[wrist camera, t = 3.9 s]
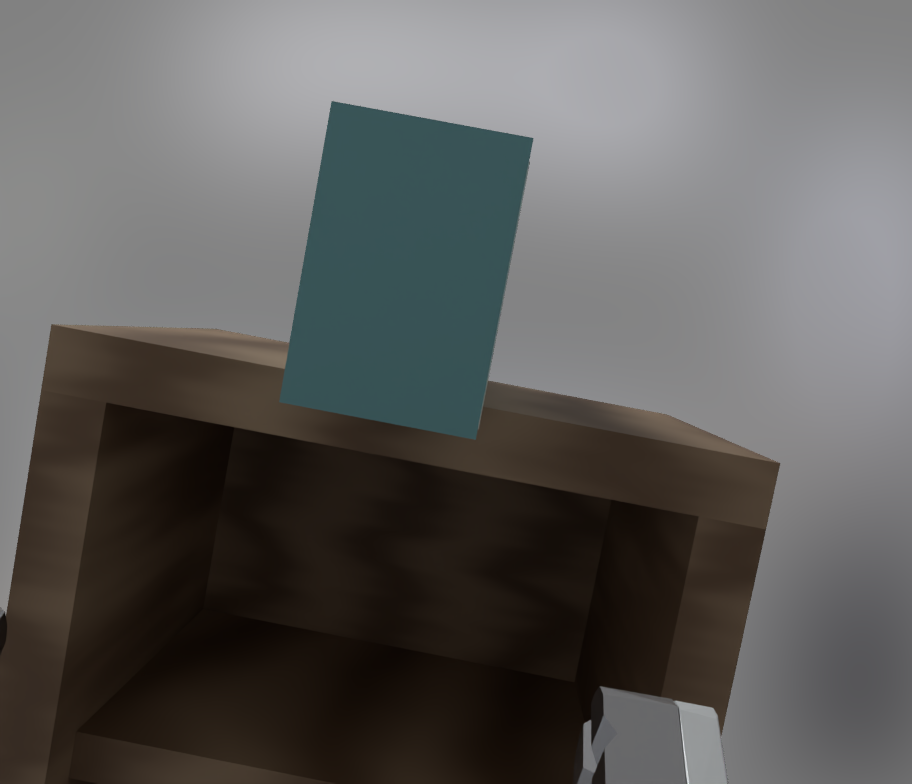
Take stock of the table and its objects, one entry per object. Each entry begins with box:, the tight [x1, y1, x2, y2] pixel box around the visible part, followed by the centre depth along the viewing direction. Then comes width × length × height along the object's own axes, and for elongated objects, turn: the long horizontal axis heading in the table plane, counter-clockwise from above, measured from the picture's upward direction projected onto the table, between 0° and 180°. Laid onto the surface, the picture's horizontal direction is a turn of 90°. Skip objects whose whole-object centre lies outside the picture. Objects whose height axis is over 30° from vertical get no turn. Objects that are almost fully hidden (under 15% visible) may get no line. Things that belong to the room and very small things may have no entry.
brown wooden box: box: [0, 324, 780, 784], centre depth 35 cm, size 22×16×26 cm
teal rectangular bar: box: [279, 101, 533, 440], centre depth 29 cm, size 4×24×6 cm, turn 178°
